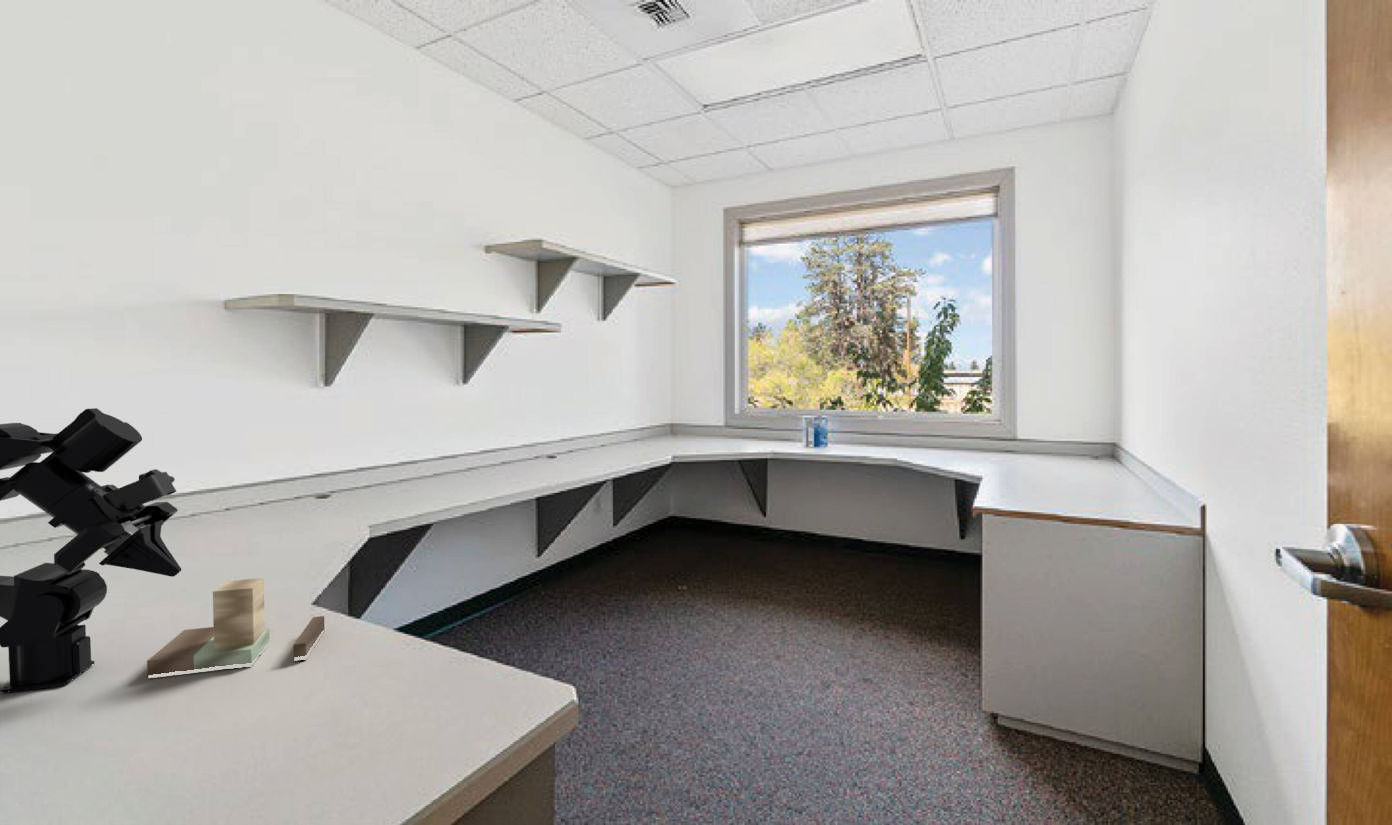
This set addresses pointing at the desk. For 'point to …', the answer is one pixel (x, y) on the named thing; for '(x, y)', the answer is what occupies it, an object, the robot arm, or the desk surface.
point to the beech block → (238, 613)
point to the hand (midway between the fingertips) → (177, 573)
